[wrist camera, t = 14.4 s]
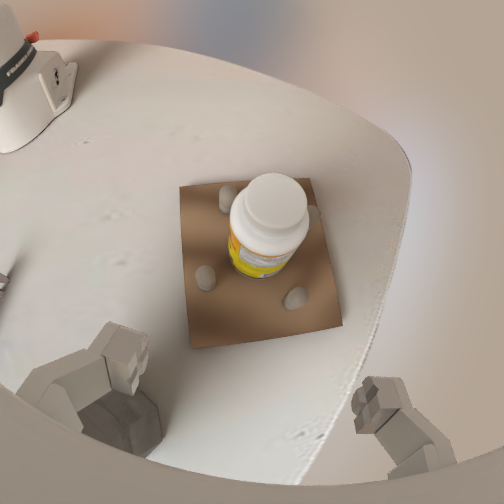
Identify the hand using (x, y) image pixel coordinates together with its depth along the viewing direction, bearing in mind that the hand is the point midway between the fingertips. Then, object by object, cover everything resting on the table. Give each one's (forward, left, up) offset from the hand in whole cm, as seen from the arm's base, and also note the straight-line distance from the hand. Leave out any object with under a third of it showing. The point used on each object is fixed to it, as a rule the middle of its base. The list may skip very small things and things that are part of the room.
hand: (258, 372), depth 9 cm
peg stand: (-9, +3, -16) cm, 19 cm away
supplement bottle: (-9, +3, -15) cm, 18 cm away
